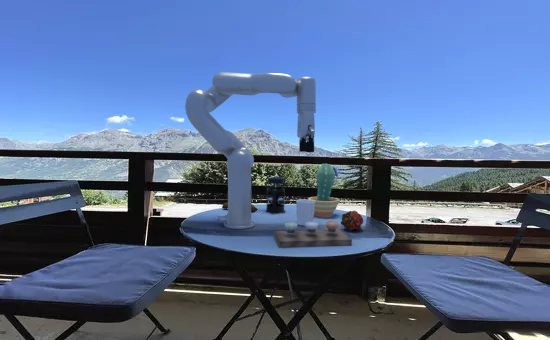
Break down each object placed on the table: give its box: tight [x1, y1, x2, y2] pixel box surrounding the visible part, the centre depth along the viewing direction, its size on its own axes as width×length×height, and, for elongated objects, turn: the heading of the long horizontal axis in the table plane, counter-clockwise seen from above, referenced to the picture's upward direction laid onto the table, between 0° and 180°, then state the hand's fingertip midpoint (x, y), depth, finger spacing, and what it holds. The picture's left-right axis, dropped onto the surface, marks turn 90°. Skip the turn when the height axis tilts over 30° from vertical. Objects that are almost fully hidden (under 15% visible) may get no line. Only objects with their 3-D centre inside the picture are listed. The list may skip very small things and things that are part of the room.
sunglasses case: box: [221, 201, 259, 213], centre depth 168 cm, size 18×7×7 cm
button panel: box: [273, 228, 353, 248], centre depth 116 cm, size 25×13×2 cm, turn 99°
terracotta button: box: [325, 220, 339, 232], centre depth 117 cm, size 4×4×3 cm
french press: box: [265, 165, 286, 214], centre depth 163 cm, size 12×9×23 cm
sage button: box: [284, 221, 298, 233], centre depth 115 cm, size 4×4×3 cm
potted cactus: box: [307, 163, 341, 218], centre depth 157 cm, size 15×15×25 cm
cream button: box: [304, 221, 319, 233], centre depth 116 cm, size 4×4×3 cm
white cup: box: [295, 199, 315, 227], centre depth 140 cm, size 8×8×10 cm
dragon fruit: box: [340, 210, 364, 232], centre depth 132 cm, size 8×8×12 cm
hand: (306, 151), depth 132 cm, fingers open, 9 cm apart
